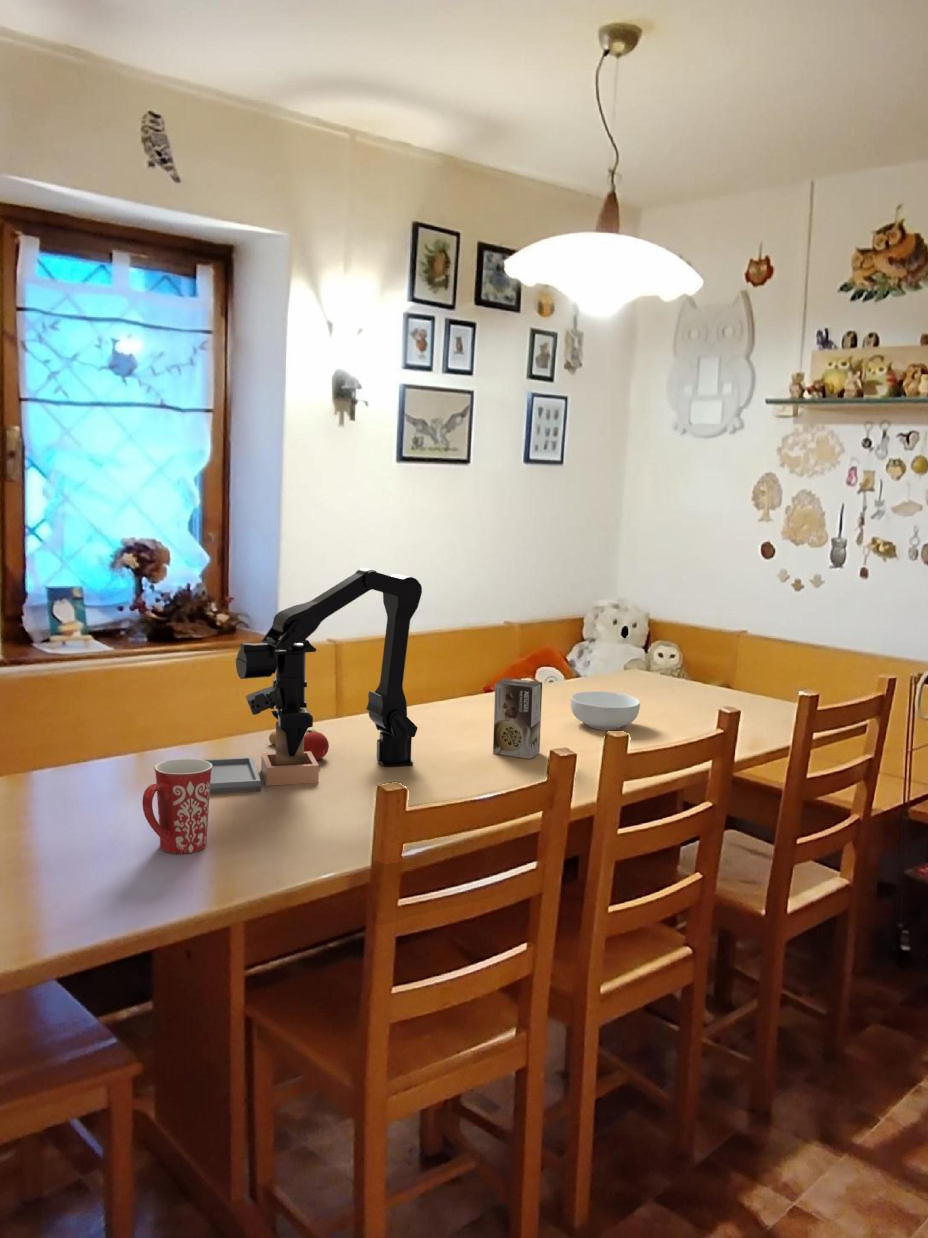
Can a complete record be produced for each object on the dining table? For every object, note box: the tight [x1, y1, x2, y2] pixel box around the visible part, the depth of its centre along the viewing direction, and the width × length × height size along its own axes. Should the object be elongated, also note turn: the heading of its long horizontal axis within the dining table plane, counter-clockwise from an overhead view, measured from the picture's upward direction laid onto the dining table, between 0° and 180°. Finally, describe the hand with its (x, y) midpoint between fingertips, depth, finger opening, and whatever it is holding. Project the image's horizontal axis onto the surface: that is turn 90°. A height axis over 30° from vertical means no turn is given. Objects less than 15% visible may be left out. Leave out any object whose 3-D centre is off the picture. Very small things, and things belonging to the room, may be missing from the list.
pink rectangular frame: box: [260, 751, 320, 786], centre depth 206 cm, size 10×10×4 cm
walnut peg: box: [275, 720, 304, 766], centre depth 205 cm, size 6×6×11 cm
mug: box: [141, 757, 213, 855], centre depth 165 cm, size 13×9×14 cm
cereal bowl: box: [570, 690, 641, 731], centre depth 255 cm, size 17×17×7 cm
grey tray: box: [200, 756, 262, 795], centre depth 202 cm, size 11×16×2 cm
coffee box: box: [492, 677, 543, 760], centre depth 227 cm, size 9×6×16 cm
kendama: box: [268, 728, 330, 761], centre depth 222 cm, size 8×6×18 cm
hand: (289, 752), depth 205 cm, fingers open, 6 cm apart
